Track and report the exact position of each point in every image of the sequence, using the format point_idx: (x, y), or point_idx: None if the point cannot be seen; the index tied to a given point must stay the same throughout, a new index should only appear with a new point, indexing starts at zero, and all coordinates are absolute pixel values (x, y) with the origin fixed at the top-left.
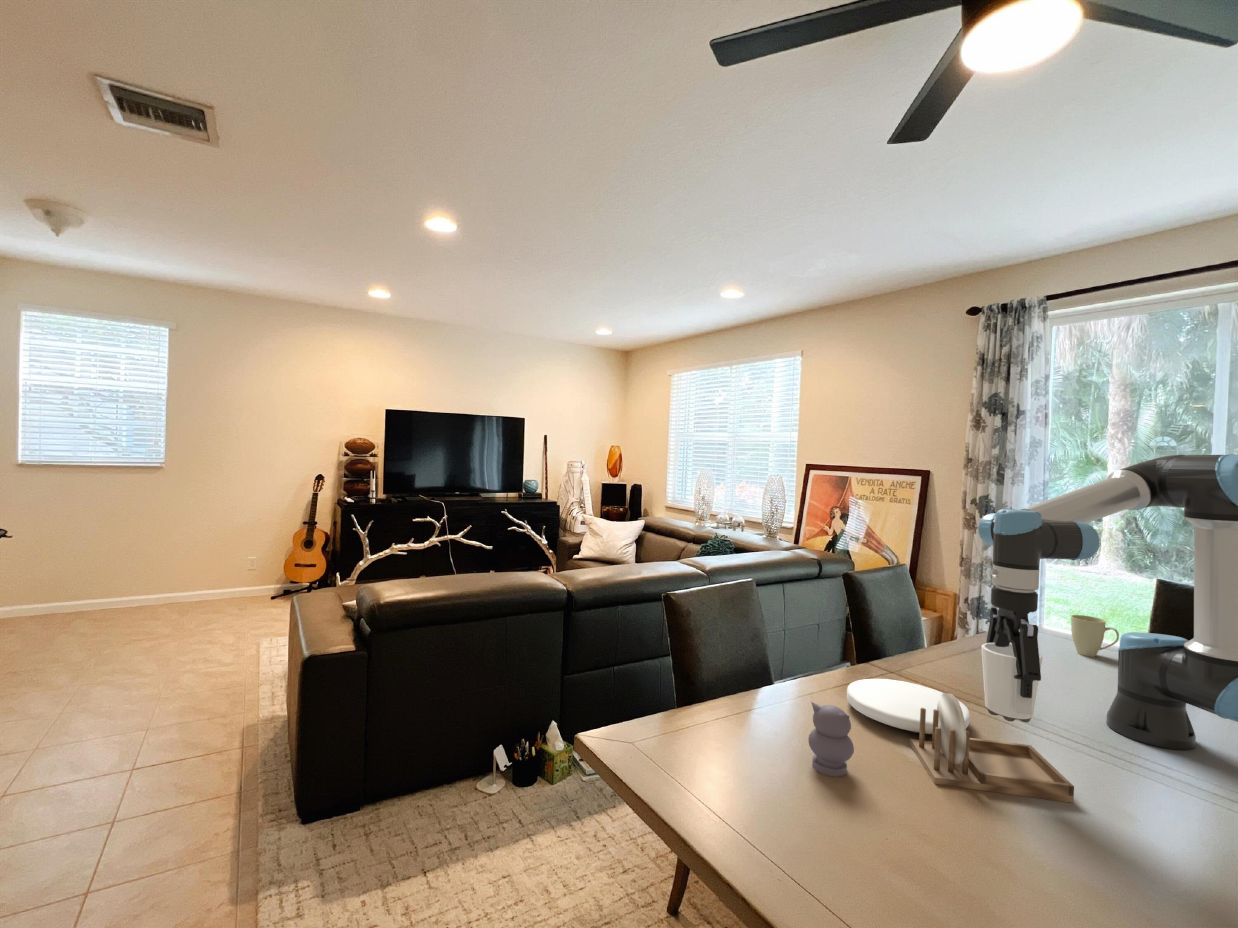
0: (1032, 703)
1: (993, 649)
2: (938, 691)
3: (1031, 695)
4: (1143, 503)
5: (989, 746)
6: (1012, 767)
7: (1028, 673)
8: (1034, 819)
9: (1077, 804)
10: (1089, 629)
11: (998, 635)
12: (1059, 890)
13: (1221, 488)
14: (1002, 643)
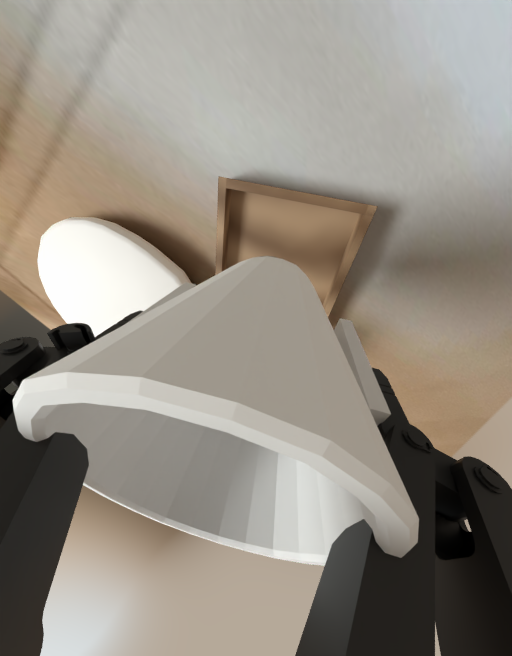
0: (321, 303)
1: (116, 444)
2: (51, 242)
3: (387, 380)
4: None
5: (225, 258)
6: (277, 253)
7: (464, 526)
8: (388, 302)
9: (373, 201)
10: None
11: (42, 597)
12: (498, 363)
13: None
14: (66, 476)
